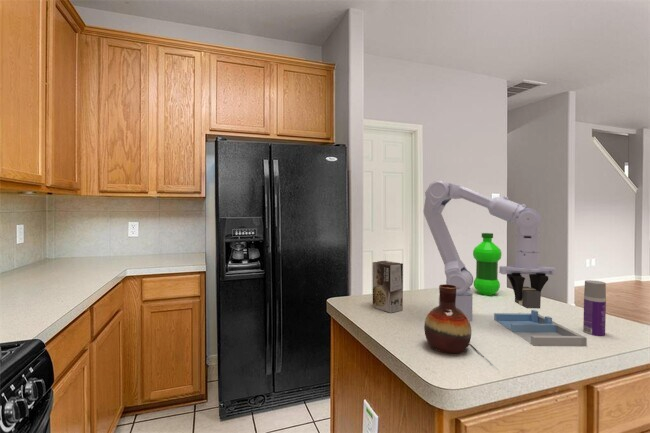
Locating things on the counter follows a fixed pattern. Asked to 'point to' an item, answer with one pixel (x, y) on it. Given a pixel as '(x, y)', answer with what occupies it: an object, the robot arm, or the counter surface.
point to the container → (594, 308)
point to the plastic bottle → (487, 266)
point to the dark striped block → (530, 298)
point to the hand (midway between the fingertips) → (526, 299)
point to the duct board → (539, 329)
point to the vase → (447, 324)
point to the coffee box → (388, 286)
